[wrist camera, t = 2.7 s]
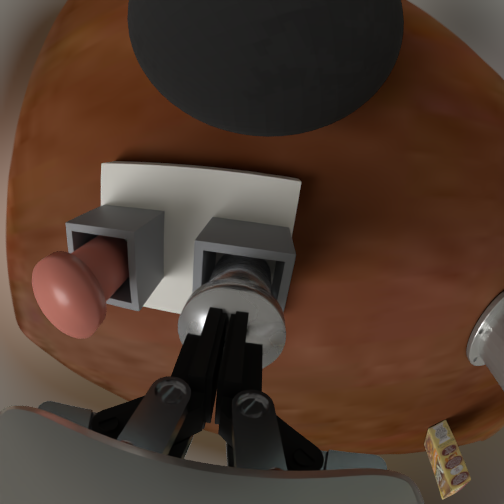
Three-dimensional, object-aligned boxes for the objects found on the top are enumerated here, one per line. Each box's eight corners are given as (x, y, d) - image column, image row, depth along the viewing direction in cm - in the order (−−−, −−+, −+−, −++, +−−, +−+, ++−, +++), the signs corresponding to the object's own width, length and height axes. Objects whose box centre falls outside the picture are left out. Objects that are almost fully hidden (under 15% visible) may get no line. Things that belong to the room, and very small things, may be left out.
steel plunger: (287, 245, 16) (296, 298, 11) (273, 312, 18) (274, 378, 12) (207, 234, 16) (177, 281, 11) (203, 302, 18) (179, 364, 12)
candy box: (427, 427, 33) (449, 492, 18) (447, 418, 32) (472, 479, 18) (423, 444, 35) (440, 500, 21) (440, 435, 35) (460, 490, 20)
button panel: (298, 178, 20) (313, 193, 13) (272, 314, 24) (273, 370, 18) (114, 161, 20) (60, 171, 13) (118, 288, 24) (81, 329, 18)
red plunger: (142, 227, 16) (89, 267, 10) (144, 293, 18) (104, 348, 12) (83, 220, 16) (24, 252, 10) (90, 281, 18) (43, 325, 12)
